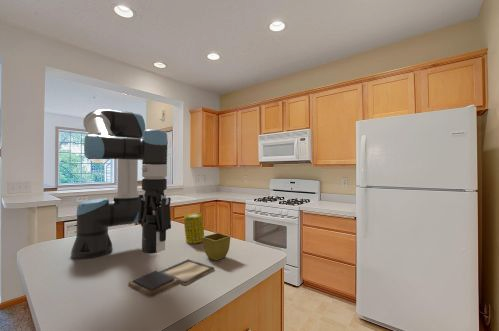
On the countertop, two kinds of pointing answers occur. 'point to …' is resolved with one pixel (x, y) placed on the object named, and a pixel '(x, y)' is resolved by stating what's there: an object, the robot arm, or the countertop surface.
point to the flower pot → (216, 245)
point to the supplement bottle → (149, 233)
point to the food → (194, 228)
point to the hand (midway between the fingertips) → (153, 248)
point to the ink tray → (154, 292)
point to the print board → (187, 271)
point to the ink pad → (153, 280)
